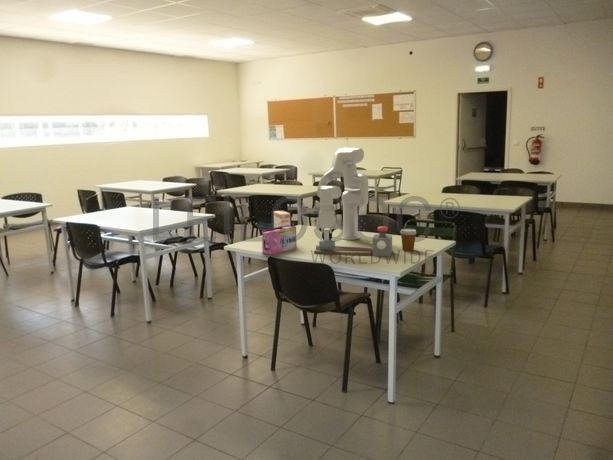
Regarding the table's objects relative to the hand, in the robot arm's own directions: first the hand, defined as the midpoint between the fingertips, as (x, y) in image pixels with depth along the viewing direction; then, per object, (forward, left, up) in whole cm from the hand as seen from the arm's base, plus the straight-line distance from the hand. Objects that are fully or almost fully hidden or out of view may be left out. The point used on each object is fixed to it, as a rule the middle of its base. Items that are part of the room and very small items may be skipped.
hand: (327, 239), depth 301 cm
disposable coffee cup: (-12, +46, -8) cm, 49 cm away
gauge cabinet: (0, +32, -8) cm, 33 cm away
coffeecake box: (-24, -35, -8) cm, 43 cm away
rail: (0, +10, -8) cm, 12 cm away
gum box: (+1, -29, -8) cm, 30 cm away
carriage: (0, 0, -6) cm, 6 cm away
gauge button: (0, +32, -1) cm, 32 cm away
